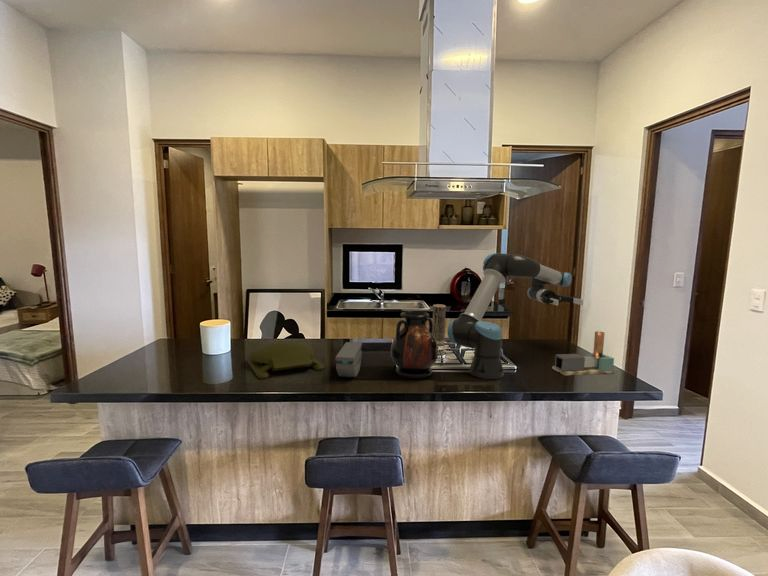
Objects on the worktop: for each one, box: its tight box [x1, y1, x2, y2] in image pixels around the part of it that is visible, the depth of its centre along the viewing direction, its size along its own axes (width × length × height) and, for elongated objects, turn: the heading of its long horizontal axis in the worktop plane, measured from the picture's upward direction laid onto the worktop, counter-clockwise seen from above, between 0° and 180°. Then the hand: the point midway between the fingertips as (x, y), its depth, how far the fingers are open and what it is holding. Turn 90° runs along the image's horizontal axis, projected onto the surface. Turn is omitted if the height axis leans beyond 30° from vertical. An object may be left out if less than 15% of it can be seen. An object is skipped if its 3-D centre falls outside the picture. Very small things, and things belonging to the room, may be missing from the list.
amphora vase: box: [390, 310, 439, 379], centre depth 186 cm, size 22×22×28 cm
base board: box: [552, 365, 614, 376], centre depth 194 cm, size 25×10×1 cm, turn 100°
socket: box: [588, 352, 615, 371], centre depth 195 cm, size 6×9×6 cm, turn 10°
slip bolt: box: [582, 331, 605, 367], centre depth 193 cm, size 15×4×16 cm, turn 100°
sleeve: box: [554, 353, 585, 372], centre depth 192 cm, size 11×6×6 cm, turn 100°
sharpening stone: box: [335, 341, 363, 378], centre depth 187 cm, size 25×8×11 cm, turn 175°
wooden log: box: [432, 303, 447, 347], centre depth 226 cm, size 7×7×25 cm
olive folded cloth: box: [246, 340, 326, 380], centre depth 198 cm, size 35×31×10 cm
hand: (570, 302), depth 207 cm, fingers open, 13 cm apart
